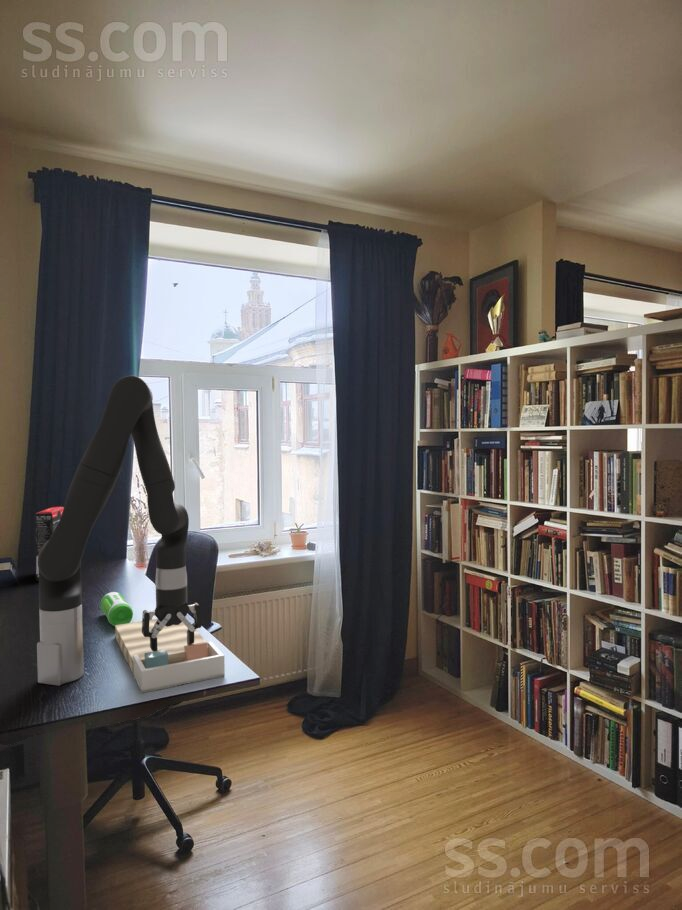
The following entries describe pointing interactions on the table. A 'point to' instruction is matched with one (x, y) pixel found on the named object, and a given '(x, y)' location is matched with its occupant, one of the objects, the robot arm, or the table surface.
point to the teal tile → (155, 659)
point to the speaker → (116, 609)
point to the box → (179, 671)
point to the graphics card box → (45, 528)
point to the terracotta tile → (195, 651)
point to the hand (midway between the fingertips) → (172, 648)
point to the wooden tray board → (167, 639)
